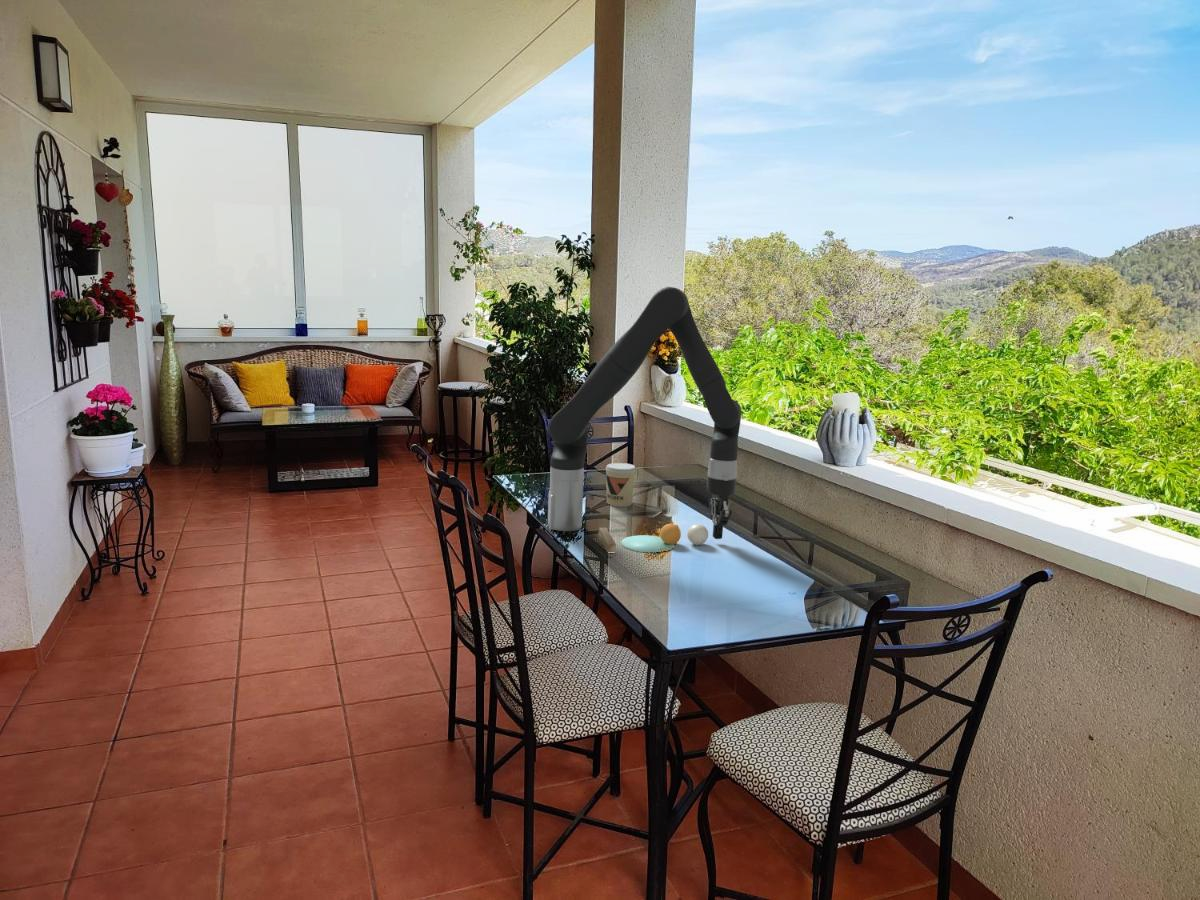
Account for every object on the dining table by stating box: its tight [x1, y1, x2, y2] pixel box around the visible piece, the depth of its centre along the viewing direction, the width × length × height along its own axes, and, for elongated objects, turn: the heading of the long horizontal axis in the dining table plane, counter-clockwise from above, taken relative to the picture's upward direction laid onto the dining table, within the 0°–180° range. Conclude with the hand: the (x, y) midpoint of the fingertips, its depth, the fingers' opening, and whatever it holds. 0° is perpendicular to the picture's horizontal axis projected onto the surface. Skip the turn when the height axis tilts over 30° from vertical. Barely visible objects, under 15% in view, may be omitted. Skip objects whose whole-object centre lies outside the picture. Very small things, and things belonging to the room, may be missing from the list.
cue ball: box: [686, 523, 709, 546], centre depth 209 cm, size 6×6×6 cm
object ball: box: [659, 523, 682, 545], centre depth 208 cm, size 6×6×6 cm
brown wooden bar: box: [598, 527, 617, 553], centre depth 206 cm, size 2×14×2 cm, turn 10°
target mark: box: [620, 534, 675, 554], centre depth 208 cm, size 14×14×1 cm
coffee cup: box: [605, 462, 637, 508], centre depth 245 cm, size 9×9×12 cm
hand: (717, 538), depth 211 cm, fingers closed
